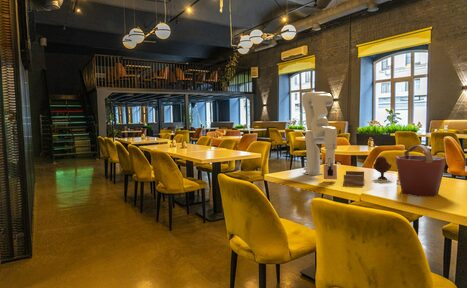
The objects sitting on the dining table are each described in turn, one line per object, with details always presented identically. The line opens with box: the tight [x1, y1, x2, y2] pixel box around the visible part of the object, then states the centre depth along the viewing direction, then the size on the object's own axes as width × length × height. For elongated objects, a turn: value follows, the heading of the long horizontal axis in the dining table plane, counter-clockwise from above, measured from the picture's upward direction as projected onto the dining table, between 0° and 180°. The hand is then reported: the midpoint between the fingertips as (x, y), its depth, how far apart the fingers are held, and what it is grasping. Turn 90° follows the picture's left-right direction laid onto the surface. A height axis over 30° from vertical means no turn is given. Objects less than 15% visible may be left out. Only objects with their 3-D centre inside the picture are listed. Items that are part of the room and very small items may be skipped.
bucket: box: [395, 144, 446, 197], centre depth 168 cm, size 24×22×25 cm
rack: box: [342, 170, 366, 187], centre depth 200 cm, size 17×12×6 cm
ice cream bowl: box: [373, 155, 392, 180], centre depth 210 cm, size 11×11×15 cm
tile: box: [323, 164, 338, 181], centre depth 206 cm, size 3×8×9 cm, turn 67°
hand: (330, 174), depth 206 cm, fingers closed on tile, 3 cm apart
